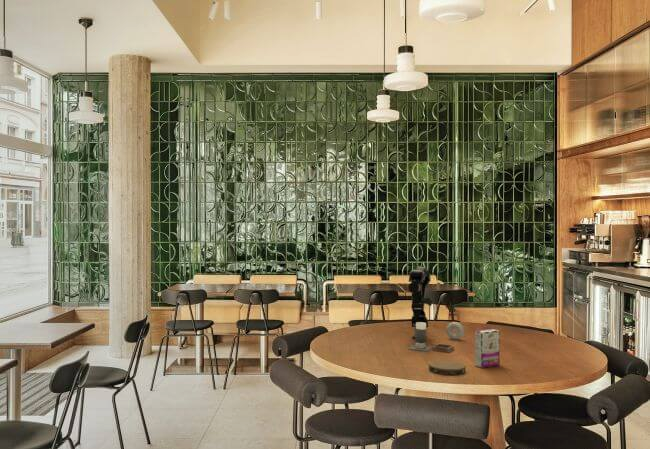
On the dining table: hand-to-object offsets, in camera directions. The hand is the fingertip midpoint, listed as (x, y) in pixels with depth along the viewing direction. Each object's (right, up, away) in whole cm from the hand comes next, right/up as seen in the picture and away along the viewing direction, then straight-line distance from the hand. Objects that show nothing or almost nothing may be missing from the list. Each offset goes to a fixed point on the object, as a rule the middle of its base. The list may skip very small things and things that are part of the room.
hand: (417, 321), depth 314 cm
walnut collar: (+11, -12, -16) cm, 23 cm away
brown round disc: (+4, -13, -59) cm, 60 cm away
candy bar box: (+24, -13, -49) cm, 56 cm away
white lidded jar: (-1, -11, -14) cm, 18 cm away
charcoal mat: (-1, -12, -14) cm, 19 cm away
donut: (+23, -13, +11) cm, 28 cm away
